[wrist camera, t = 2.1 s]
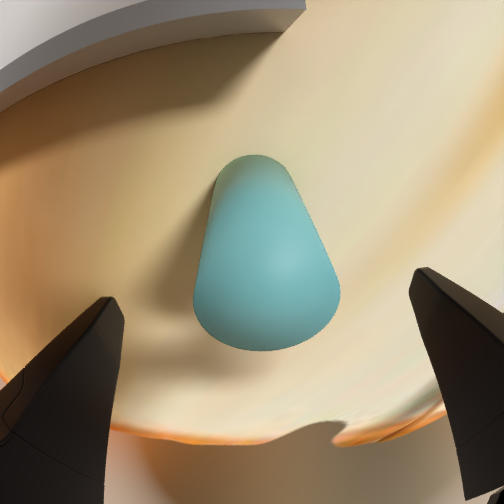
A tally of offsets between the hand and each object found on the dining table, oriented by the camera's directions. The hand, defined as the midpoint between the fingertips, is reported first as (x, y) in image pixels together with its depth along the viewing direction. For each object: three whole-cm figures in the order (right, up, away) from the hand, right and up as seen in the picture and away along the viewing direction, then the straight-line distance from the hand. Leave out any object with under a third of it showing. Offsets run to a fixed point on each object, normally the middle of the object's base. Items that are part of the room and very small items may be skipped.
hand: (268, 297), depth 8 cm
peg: (0, +4, +7) cm, 8 cm away
